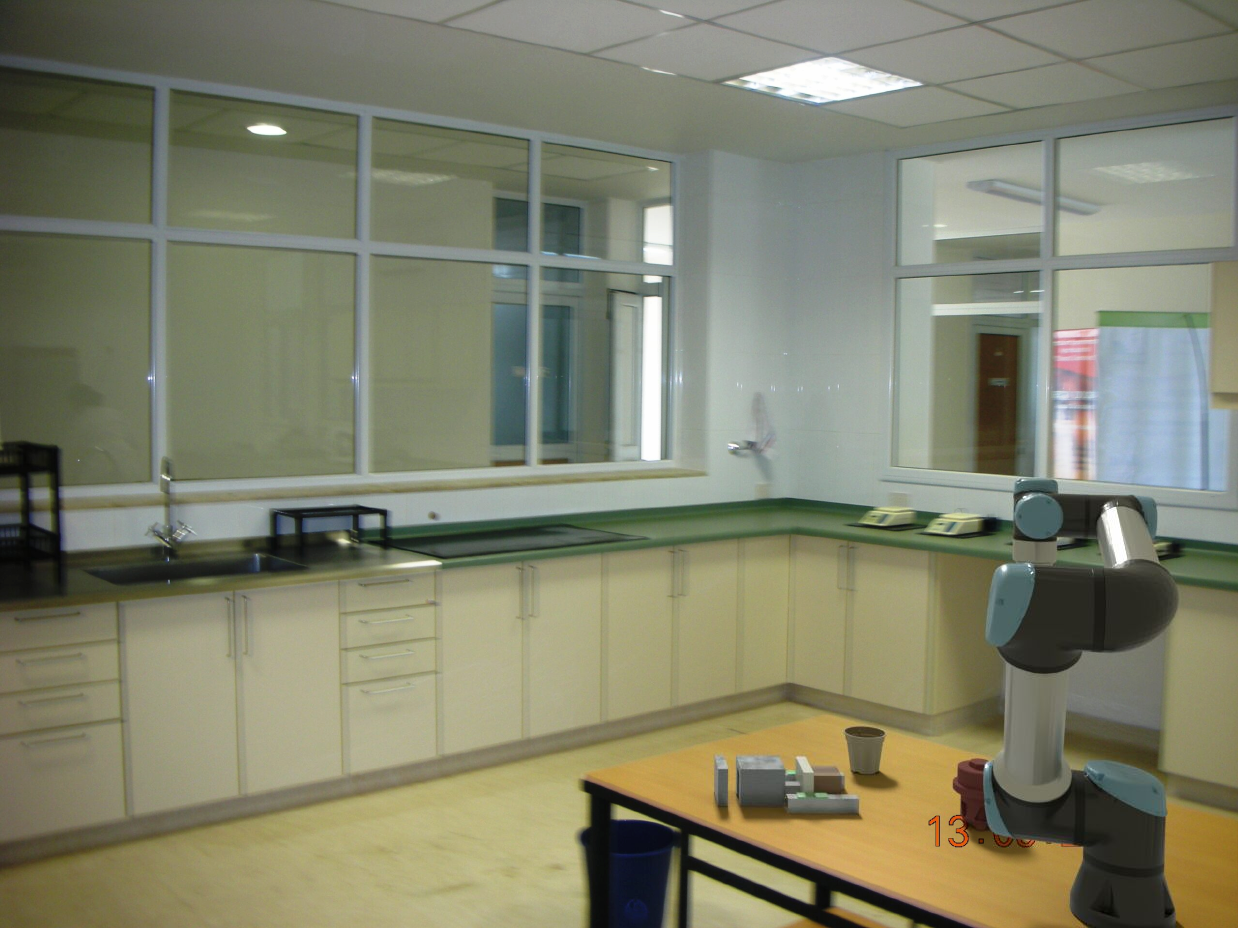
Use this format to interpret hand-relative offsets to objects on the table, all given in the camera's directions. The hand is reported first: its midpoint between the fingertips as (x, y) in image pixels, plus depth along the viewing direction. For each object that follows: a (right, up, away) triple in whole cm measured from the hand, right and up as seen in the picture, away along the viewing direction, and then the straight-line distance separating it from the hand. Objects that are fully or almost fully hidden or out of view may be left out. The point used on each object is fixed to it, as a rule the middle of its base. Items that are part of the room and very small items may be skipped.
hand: (1031, 691), depth 194 cm
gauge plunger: (-43, -27, +23) cm, 56 cm away
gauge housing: (-42, -27, +23) cm, 55 cm away
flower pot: (-21, -27, +41) cm, 53 cm away
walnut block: (-33, -27, +24) cm, 49 cm away
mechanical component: (-6, -28, +10) cm, 31 cm away
